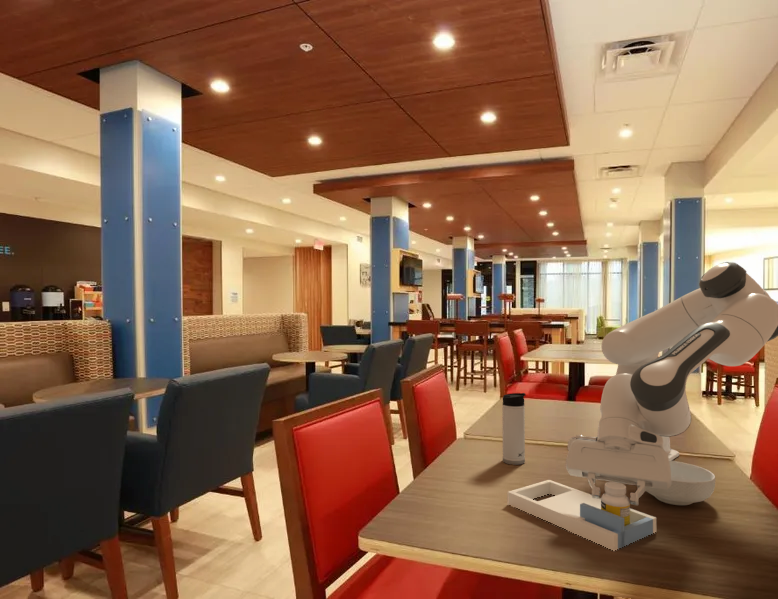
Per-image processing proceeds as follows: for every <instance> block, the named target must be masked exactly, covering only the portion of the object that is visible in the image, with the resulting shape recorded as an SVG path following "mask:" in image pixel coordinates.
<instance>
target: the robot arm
mask: <svg viewBox="0 0 778 599" xmlns="http://www.w3.org/2000/svg"><path fill="white" fill-rule="evenodd" d="M698 286H699V288H697V289H694V290H693V291H690V292H688V293H686V294H684V295H682V296H680V297H679V298H677V299H675V300H673V301H671V302H669V303H667V304H665V305H664V306H662V307H660V308H658V309H656V310H653V311H652V312H649V313H647V314H645V315H643V316H642V315H641V317H638V318H636V319H634V320H632V321H629V322H627V323H624V325H621V326H620V327H617V328H615V329H613V330H612V331H609V333H607V334H606V335H605V336H604V337H603V339H602V342H601V345H600V346H601V352H602V355H603V356H604V357H605V359H606V360H607V361H609V362H611V363H612V364H616V365H617V369H616V373H615V375H613V376H611V377H610V378H608V380H607V381H606V383H605V384H604V387H603V389H602V394H601V400H600V407H599V408H600V409H599V411H600V420H599V421H598V427H597V436H583V435H582V434H581V435H580V434H576V435H575V436H572V437H571V438H569V439H568V441H567V446H566V447H567V450H568V452H567V456H566V459H565V468H566V471H567V473H568V474H569V476H572V477H577V478H585V479H587V481H588V484H589V486H590V487H591V495H592V498H597V499H600V498H601V494H602V493H601V487H598V486H596V485H595V484H596V482H597V480H599V481H605V482H618V483H621V484H624V485H630V486H631V485H632V486H636V487H637V489H636V491H635V492H630V494H629V496H630V497H629V500H630V505H633V506H639V504H640V503H639V501H640V500H639V498H641V497H642V495H644V493H645V492H646V491H645V487H650V488H657V489H663V490H667V489H669V488H670V487H671V469H670V462H669V460H670V461H674V459H676V458H677V457H680V452H679V451H677V450H676V449H673V448H671V439H670V438H671V437H676V436H679V435H681V434H683V433H684V432H686V431H687V430H688V429H689V427H690V426H691V423H692V414H691V410H690V404H689V401H688V396H687V393H686V392H687V391H686V388H687V381H688V378H689V376H690V374H692V373H693V372H695V371H696V370H697V369H698V368H700V366H701V365H702V364H704V363H705V362H706V361H707V360H708V359H709V360H710V361H712V362H714V363H716V364H718V365H722V366H726V367H738V366H742V365H744V364H746V363H747V362H748V361H750V360H751V359H752V358H754V357H755V356H756V354H758V353H759V352H760V351H761V349H762V348H763V347H765V345H766V344H767V343H768V342H770V341H772V340H774V339H775V338H777V337H778V302H777V301H776V300H774V299H773V298H771V296H770V295H769V293H768V292H767V291H766V290H765V289H764V288H762V287H761V285H760V284H759V283H758V282H757V281H756V280H755V279H754V278H752V276H751V275H750V274H748V273H747V270H746V269H745V268H744V267H742V266H741V265H739V264H738V263H736V262H733V261H730V262H729V261H726V262H722V263H719V264H717V265H714V266H712V267H711V268H710V269H708V270H707V271H706V272H705V273H704V274H703V275H702V276H701V278H700V280H699V284H698ZM663 351H665V352H664V353H663V354H662V355H660V356H659V353H661V352H663Z"/></svg>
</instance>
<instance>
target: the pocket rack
mask: <svg viewBox="0 0 778 599" xmlns="http://www.w3.org/2000/svg"><path fill="white" fill-rule="evenodd" d="M547 494H549V495H550V494H552V495H551V497H548V498H544V499H541V500H538V501H537V500H536V499H534V498H537V497H540V498H542V497H541V496H543V497H545V496H544V495H546V496H548V495H547ZM553 495H555V496H553ZM533 499H534V500H533ZM537 499H538V498H537ZM509 505H511V506H510V507H512V506H513V507H512V508H514V507H516V508H518V509H520V510H519V511H521V510H523V511H525V512H527V513H526V514H528V513H529V514H528V515H530V514H532V515H534V516H536V517H535V518H537V517H539V518H541V519H543V520H546V521H548V522H551V523H553V524H555V525H557V526H559V527H562V528H564V529H566V530H568V531H567V532H569V531H570V532H569V533H571V532H572V533H571V534H573V533H574V535H575V534H577V535H576V536H578V535H579V536H578V537H580V536H582V537H583V538H582V537H581V538H582V539H584V538H586V539H585V540H587V539H588V540H587V541H589V540H591V541H593V542H592V543H594V542H595V543H594V544H596V543H597V544H596V545H598V544H600V545H602V546H601V547H603V546H604V547H603V548H605V547H606V548H605V549H607V548H608V549H607V550H609V549H611V550H610V551H612V550H613V552H616V551H618V550H620V549H619V548H621V549H623V548H625V547H627V546H629V544H630V543H632V544H634V543H636V542H638V541H640V540H639V539H641V540H642V538H643V539H645V538H647V537H649V536H648V535H650V536H652V535H654V534H656V533H657V517H656V516H653V515H650V514H647V513H645V512H642V511H639V510H636V509H633V508H631V507H630V524H629V525H627V526H624V518H623V517H620V516H617V515H615V514H612V513H609V512H607V511H604V510H601V497H600V499H597V498H592V493H589V492H585V491H583V490H579V489H577V488H573V487H571V486H568V485H565V484H562V483H560V482H557V481H553V480H551V479H547V480H542V481H540V482H537V483H533V484H530V485H526V486H522V487H519V488H516V489H513V490H507V506H509ZM516 508H515V509H516ZM518 509H517V510H518ZM523 511H522V512H523ZM525 512H524V513H525ZM532 515H531V516H532ZM534 516H533V517H534ZM539 518H538V519H539ZM541 519H540V520H541ZM543 520H542V521H543ZM546 521H545V522H546ZM548 522H547V523H548ZM553 524H552V525H553ZM555 525H554V526H555ZM557 526H556V527H557ZM559 527H558V528H559ZM562 528H561V529H562ZM564 529H563V530H564ZM566 530H565V531H566ZM655 532H656V533H655ZM653 533H654V534H653ZM651 534H652V535H651ZM646 536H647V537H646ZM644 537H645V538H644ZM637 540H638V541H637ZM591 541H590V542H591ZM635 541H636V542H635ZM633 542H634V543H633ZM600 545H599V546H600ZM626 545H627V546H626ZM630 545H631V544H630ZM624 546H625V547H624ZM622 547H623V548H622ZM617 549H618V550H617ZM615 550H616V551H615Z"/></svg>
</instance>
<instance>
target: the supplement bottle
mask: <svg viewBox="0 0 778 599" xmlns="http://www.w3.org/2000/svg"><path fill="white" fill-rule="evenodd" d="M600 498H601V510H604V511H607V512H609V513H612V514H615V515H617V516H620V517H623V518H624V526H627V525H629V524H630V508H631V504H630V497H628V496H627V486H626V484H624V483H618V482H610V481H605V483H604V493H602V495H600Z"/></svg>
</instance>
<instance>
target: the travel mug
mask: <svg viewBox="0 0 778 599" xmlns="http://www.w3.org/2000/svg"><path fill="white" fill-rule="evenodd" d="M525 397H527V396H526V393H525V392H522V393H521V392H520V393H519V392H517V393H514V392H512V393H508V394H507V393H506V394H504V395H503V396H502V462H503V463H505V464H507V465H511V464H513V465H512V466H516V465H517V466H520V465H523V464H525V463H526V462H525V461H526V460H525V458H526V457H525V453H526V450H525V446H526V444H525V442H526V441H525V440H526V437H525V436H526V435H525V433H526V431H525V429H526V426H525V424H526V422H525V421H526V420H525V415H526V414H525V413H526V412H525V410H526V409H525V407H526V406H525Z"/></svg>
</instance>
